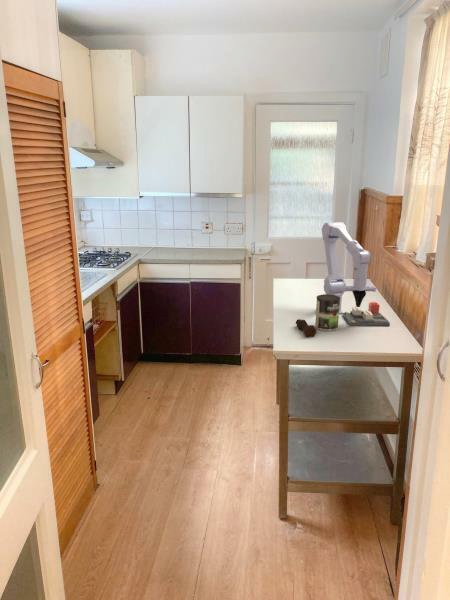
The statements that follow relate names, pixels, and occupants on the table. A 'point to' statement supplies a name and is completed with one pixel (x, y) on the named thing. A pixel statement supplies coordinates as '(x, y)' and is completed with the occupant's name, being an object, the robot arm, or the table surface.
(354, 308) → the toggle
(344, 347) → the table surface
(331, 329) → the coffee can
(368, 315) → the toggle tagged
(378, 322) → the grey tray
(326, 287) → the robot arm
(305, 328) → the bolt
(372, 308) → the cap
